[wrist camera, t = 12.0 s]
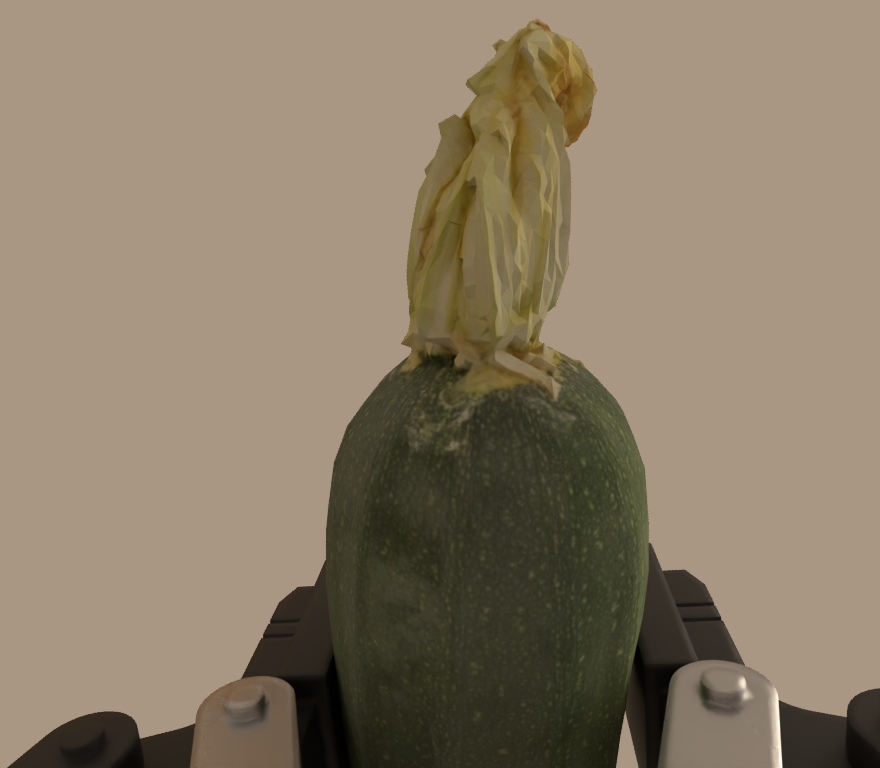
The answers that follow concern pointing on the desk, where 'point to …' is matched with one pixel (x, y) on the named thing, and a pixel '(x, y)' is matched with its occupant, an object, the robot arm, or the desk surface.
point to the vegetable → (490, 468)
